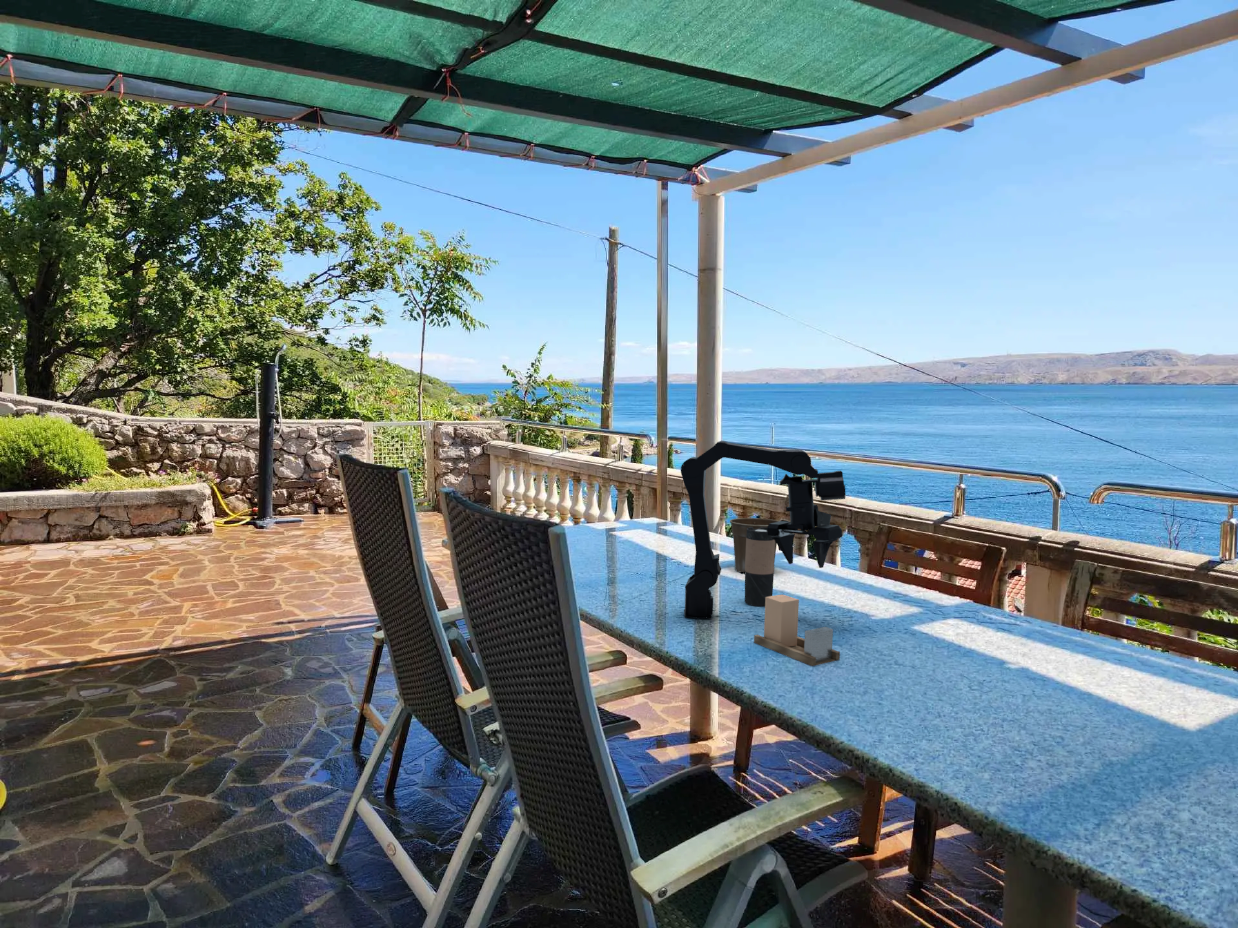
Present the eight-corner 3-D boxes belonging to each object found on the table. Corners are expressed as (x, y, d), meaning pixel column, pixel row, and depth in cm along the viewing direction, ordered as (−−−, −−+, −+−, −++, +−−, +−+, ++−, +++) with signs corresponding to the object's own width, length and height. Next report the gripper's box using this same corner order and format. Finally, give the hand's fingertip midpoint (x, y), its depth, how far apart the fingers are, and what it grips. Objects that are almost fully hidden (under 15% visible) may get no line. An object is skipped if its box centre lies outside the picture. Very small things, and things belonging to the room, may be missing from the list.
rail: (753, 645, 166) (754, 635, 165) (780, 640, 170) (780, 630, 170) (811, 669, 151) (812, 658, 151) (839, 663, 155) (839, 651, 155)
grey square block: (803, 664, 154) (805, 630, 154) (824, 659, 158) (825, 626, 157) (810, 667, 153) (812, 633, 152) (831, 662, 156) (833, 629, 155)
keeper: (763, 641, 165) (765, 596, 164) (780, 638, 168) (782, 594, 167) (780, 648, 161) (781, 602, 160) (797, 644, 163) (798, 599, 163)
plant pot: (719, 566, 247) (721, 517, 246) (764, 564, 252) (765, 516, 250) (742, 577, 231) (744, 525, 230) (789, 575, 236) (791, 524, 235)
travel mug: (764, 608, 197) (767, 532, 195) (738, 603, 201) (741, 529, 200) (777, 602, 203) (780, 529, 201) (751, 597, 207) (754, 525, 206)
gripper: (854, 498, 179) (858, 563, 180) (792, 496, 194) (797, 556, 195) (824, 505, 173) (829, 572, 173) (763, 502, 187) (767, 564, 188)
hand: (805, 565), depth 183 cm, fingers open, 9 cm apart
